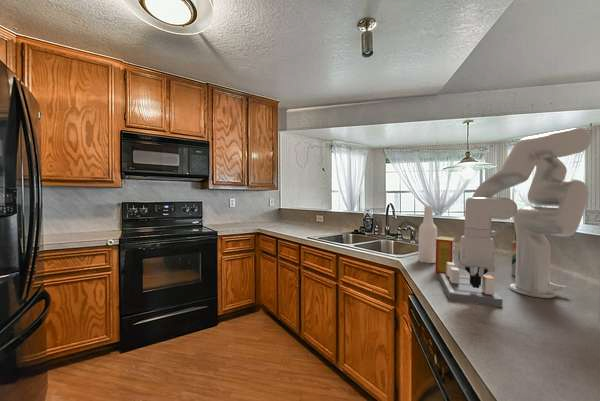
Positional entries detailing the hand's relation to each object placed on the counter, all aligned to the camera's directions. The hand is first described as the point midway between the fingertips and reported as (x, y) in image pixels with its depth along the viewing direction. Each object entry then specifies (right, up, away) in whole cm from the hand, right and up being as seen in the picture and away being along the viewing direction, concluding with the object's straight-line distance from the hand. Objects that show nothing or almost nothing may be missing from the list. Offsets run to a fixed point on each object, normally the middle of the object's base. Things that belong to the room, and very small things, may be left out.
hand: (475, 286), depth 90 cm
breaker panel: (+2, -4, +8) cm, 9 cm away
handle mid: (-2, -1, +9) cm, 10 cm away
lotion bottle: (+38, -4, +27) cm, 46 cm away
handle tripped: (+4, -2, -1) cm, 4 cm away
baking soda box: (+8, -4, +33) cm, 34 cm away
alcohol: (+8, -3, +51) cm, 52 cm away
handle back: (+1, -1, +17) cm, 17 cm away
